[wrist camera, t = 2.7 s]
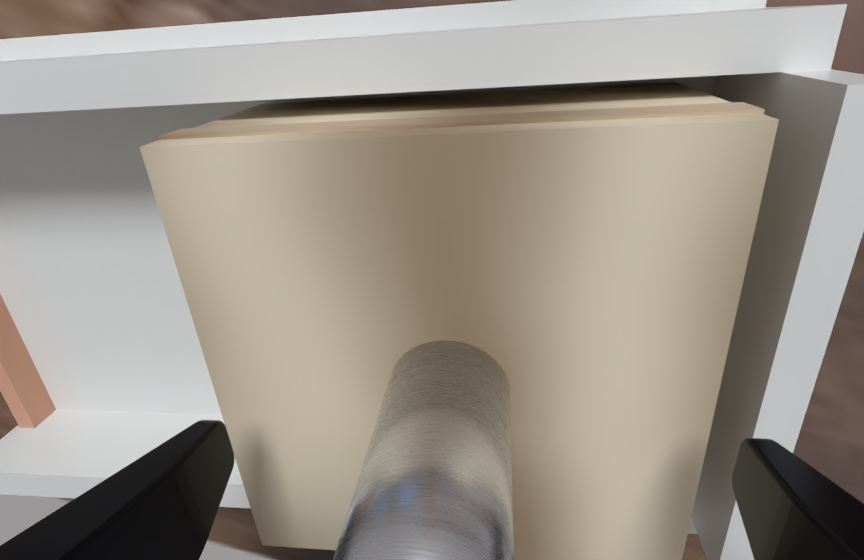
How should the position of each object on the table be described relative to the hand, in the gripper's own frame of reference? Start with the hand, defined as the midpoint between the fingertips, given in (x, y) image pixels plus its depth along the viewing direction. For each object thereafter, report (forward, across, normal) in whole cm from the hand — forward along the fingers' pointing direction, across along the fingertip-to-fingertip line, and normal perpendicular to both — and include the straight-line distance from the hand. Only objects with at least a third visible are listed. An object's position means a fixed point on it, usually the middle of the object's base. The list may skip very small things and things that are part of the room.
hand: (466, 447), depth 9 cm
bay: (+7, +5, 0) cm, 9 cm away
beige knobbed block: (+8, 0, 0) cm, 8 cm away
